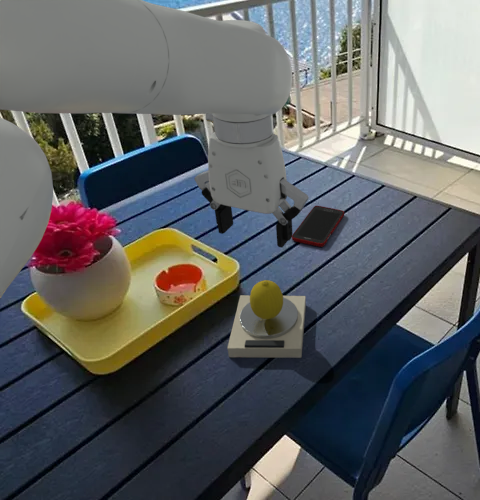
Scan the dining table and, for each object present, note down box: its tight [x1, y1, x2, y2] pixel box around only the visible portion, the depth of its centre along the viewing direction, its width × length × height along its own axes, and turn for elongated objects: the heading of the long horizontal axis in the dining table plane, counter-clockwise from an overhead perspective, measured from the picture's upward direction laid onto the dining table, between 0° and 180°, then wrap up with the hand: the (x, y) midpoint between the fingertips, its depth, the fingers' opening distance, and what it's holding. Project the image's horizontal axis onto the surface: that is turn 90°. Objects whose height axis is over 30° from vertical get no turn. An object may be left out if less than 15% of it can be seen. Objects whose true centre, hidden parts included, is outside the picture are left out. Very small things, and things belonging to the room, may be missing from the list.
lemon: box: [249, 279, 284, 319], centre depth 84 cm, size 6×6×8 cm
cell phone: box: [291, 205, 345, 248], centre depth 114 cm, size 8×15×1 cm, turn 162°
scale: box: [227, 294, 307, 359], centre depth 87 cm, size 13×12×3 cm
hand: (254, 235), depth 74 cm, fingers open, 9 cm apart
